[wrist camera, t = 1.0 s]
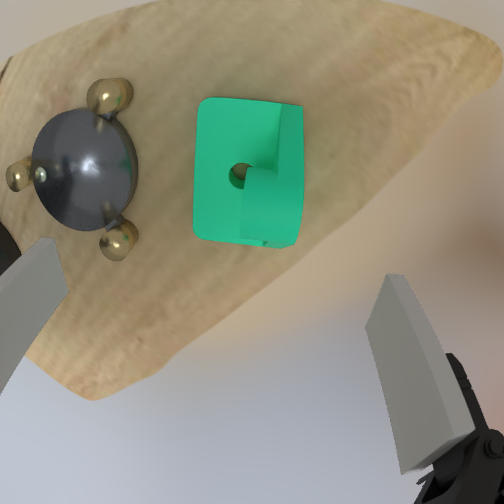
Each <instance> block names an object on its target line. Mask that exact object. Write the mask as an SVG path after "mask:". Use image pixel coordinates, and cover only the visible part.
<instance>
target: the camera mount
mask: <svg viewBox="0 0 504 504" xmlns="http://www.w3.org/2000/svg"><path fill="white" fill-rule="evenodd" d="M238 163H247V164H249V165H251V166H252V167H248V168H247V172H246V178H245V180H240V179H238V178H237V177H236V176H235V175H234V173H233V171H232V167H233V166H234V165H235V164H238ZM303 201H304V133H303V107H302V106H298V105H291V104H284V103H277V102H269V101H260V100H250V99H239V98H226V97H211V98H207V99H205V100H203V101H202V102H201V103H200V105H199V107H198V115H197V130H196V147H195V168H194V195H193V231H194V233H195V235H196V236H197V237H199V238H201V239H203V240H211V241H220V242H229V243H237V244H246V245H254V246H263V247H271V248H279V249H281V248H284V247H287V246H290V245H294V244H295V242H296V239H297V236H298V233H299V228H300V223H301V218H302V211H303Z"/></svg>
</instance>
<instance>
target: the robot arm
mask: <svg viewBox="0 0 504 504" xmlns="http://www.w3.org/2000/svg"><path fill="white" fill-rule="evenodd" d="M68 292H69V291H68V287H67V284H66V281H65V277H64V274H63V271H62V267H61V263H60V260H59V256H58V252H57V248H56V244H55V240H54V239H53V238H45V237H41V238H40V239H39V240H38V241H37V242H36V243H35V244H33V245H32V246H31V247H30V248H29V249H28V250H27V251H26V252H25V253H24V254H23V255H22V256H21V255H20V252H19V250H18V248H17V246H16V244H15V243H14V241H13V239H12V238H11V236H10V235H9V233H8V232H7V231H6V229H5V228H4V227H3V226H2V225H1V223H0V394H1V393H2V391H3V389H4V387H5V386H6V384H7V382H8V381H9V379H10V377H11V375H12V374H13V372H14V370H15V369H16V367H17V366H18V364H19V362H20V361H21V359H22V358H23V356H24V355H25V353H26V351H27V350H28V348H29V347H30V345H31V344H32V342H33V341H34V339H35V338H36V336H37V335H38V333H39V332H40V331H41V329H42V328H43V326H44V325H45V323H46V322H47V321H48V319H49V318H50V316H51V315H52V314H53V312H54V311H55V310H56V308H57V307H58V305H59V304H60V303H61V301H62V300H63V299H64V297H65V296H66V295H67V294H68ZM365 329H366V332H367V336H368V339H369V342H370V346H371V349H372V353H373V356H374V360H375V363H376V367H377V370H378V374H379V378H380V381H381V385H382V389H383V393H384V397H385V401H386V405H387V409H388V413H389V417H390V422H391V426H392V431H393V435H394V440H395V445H396V450H397V455H398V460H399V465H400V471H401V475H405V474H409V473H414V472H418V471H422V470H423V469H425V468H426V467H428V466H429V465H431V464H433V468H434V470H433V471H431V472H430V473H428V474H427V475H425V476H424V477H422V478H421V479H419V481H418V482H417V483H416V484H418V485H419V484H421V483H423V482H424V481H426V482H425V484H424V485H423V486H422V487H423V488H422V489H421V492H420V493H419V495H418V497H417V499H416V500H415V502H414V504H504V436H503V435H502V434H501V433H500V432H499V431H498V430H494V429H489V428H488V426H487V424H486V421H485V418H484V416H483V413H482V411H481V408H480V405H479V403H478V401H477V399H476V396H475V393H474V391H473V390H472V389H471V387H472V386H471V384H470V382H469V380H468V379H467V375H466V373H465V371H464V368H463V366H462V364H461V363H460V362H459V361H458V360H457V358H456V357H455V356H454V355H453V354H452V353H446V354H445V353H444V350H443V349H442V346H441V344H440V342H439V340H438V338H437V336H436V334H435V332H434V330H433V328H432V326H431V324H430V322H429V320H428V318H427V316H426V314H425V312H424V310H423V308H422V307H421V305H420V303H419V301H418V299H417V298H416V296H415V294H414V292H413V290H412V288H411V287H410V285H409V283H408V281H407V280H406V278H405V276H404V275H399V274H386V276H385V279H384V282H383V284H382V287H381V289H380V292H379V295H378V297H377V300H376V302H375V305H374V307H373V309H372V312H371V314H370V317H369V319H368V321H367V324H366V326H365Z"/></svg>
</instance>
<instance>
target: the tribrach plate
mask: <svg viewBox="0 0 504 504" xmlns="http://www.w3.org/2000/svg"><path fill="white" fill-rule="evenodd" d="M132 96H133V89H132V86H131V85H130V83H129V82H128V81H126V80H124V79H100V80H97V81H96V82H94V83H93V84H92V85H91V86H90V88H89V90H88V92H87V98H86V100H87V105H88V107H89V108H80V109H76V110H71V111H67V112H63V113H61V114H58V115H57V116H55V117H53V118H52V119H51V120H50V121H48V122H47V123H46V125H45V126H44V127H43V128H42V130H41V131H40V133H39V135H38V137H37V139H36V141H35V144H34V147H33V151H32V157H27V158H25V159H23V160H21V161H19V162H16V163H14V164H12V165H10V166H9V167H8V168H7V171H6V181H7V184H8V186H9V187H10V189H11V190H12V191H14V192H19V191H20V190H22V189H24V188H25V187H27V186H29V185H30V184H32V183H34V186H35V190H36V192H37V195H38V197H39V199H40V201H41V202H42V204H43V205H44V207H45V208H46V210H47V211H48V212H49V213H50V214H51V215H52V216H53V217H54V218H55V219H56V220H58V221H59V222H60V223H62V224H63V225H65V226H67V227H69V228H72V229H75V230H80V231H93V230H97V229H101V228H103V227H106V229H107V230H108V231H107V232H106V233H105V234H104V235H103V236H102V237H101V239H100V242H99V245H100V249H101V251H102V253H103V254H104V256H105V257H107V258H108V259H110V260H112V261H121V260H123V259H124V258H125V257H126V255H127V254H128V252H129V251H130V250H131V248H132V247H133V246H134V244H135V243H136V242H137V240H138V232H137V229H136V227H135V226H134V225H133V224H132V223H131V222H129V221H127V220H124V219H123V217H122V216H121V214H120V213H121V212H122V211H123V210H124V209H125V208H126V207H127V205H128V204H129V202H130V201H131V199H132V197H133V194H134V192H135V189H136V185H137V179H138V161H137V156H136V151H135V148H134V145H133V143H132V140H131V138H130V136H129V135H128V133H127V131H126V130H125V128H124V127H123V126H122V125H121V124H120V123H119V122H118V121H117V120H116V119H115V116H116V114H117V112H118V111H119V110H122V109H124V108H126V107H127V106H128V105H129V104H130V102H131V100H132Z"/></svg>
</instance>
